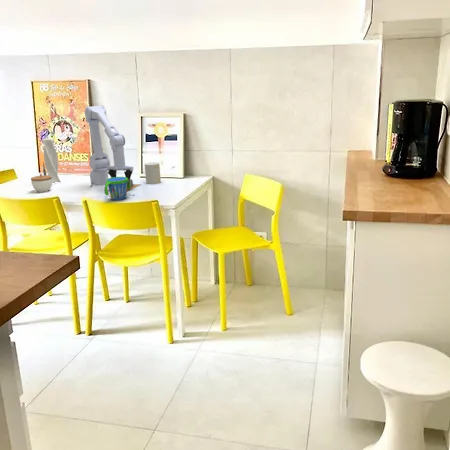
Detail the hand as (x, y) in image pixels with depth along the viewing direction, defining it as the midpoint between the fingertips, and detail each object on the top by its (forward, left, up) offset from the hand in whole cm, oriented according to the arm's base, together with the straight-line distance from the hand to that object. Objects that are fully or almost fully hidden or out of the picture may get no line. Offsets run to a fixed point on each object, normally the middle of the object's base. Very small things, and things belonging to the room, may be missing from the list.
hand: (121, 183), depth 260 cm
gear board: (0, +4, -4) cm, 5 cm away
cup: (+10, +18, -4) cm, 21 cm away
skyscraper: (-54, +16, -4) cm, 56 cm away
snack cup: (+6, -15, -4) cm, 17 cm away
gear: (0, +6, -3) cm, 7 cm away
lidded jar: (-46, -5, -4) cm, 46 cm away
